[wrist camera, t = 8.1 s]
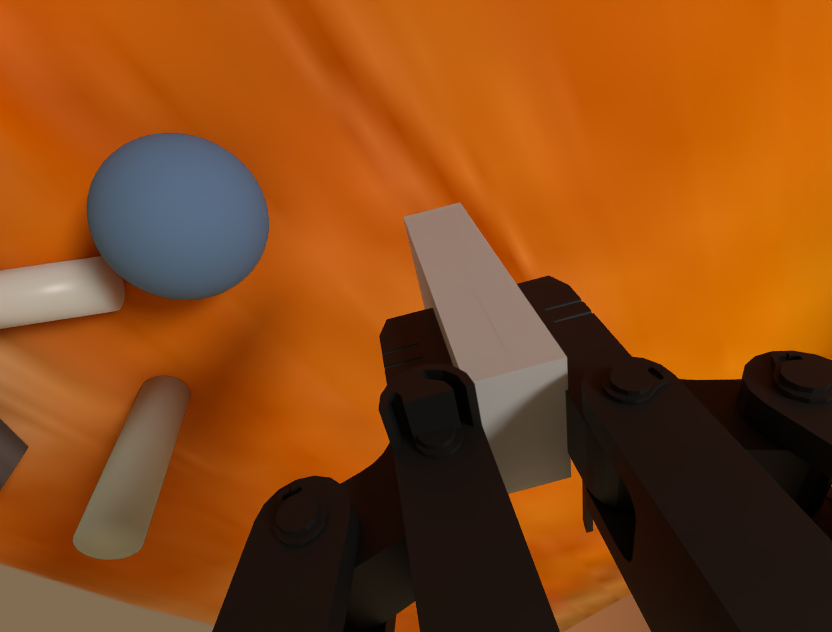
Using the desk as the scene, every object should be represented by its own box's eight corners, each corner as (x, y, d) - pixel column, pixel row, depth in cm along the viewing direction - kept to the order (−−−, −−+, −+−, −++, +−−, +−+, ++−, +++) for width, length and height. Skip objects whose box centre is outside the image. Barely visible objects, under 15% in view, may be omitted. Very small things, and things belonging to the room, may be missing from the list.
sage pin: (177, 370, 25) (122, 514, 18) (198, 403, 26) (155, 548, 19) (131, 383, 25) (58, 532, 18) (154, 415, 26) (96, 566, 19)
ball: (2, 168, 14) (119, 138, 19) (100, 340, 17) (179, 273, 22) (193, 129, 13) (259, 110, 19) (262, 315, 16) (303, 252, 21)
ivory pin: (114, 322, 20) (-104, 356, 19) (129, 290, 22) (-69, 319, 21) (86, 276, 19) (-152, 310, 18) (105, 245, 21) (-110, 275, 20)
